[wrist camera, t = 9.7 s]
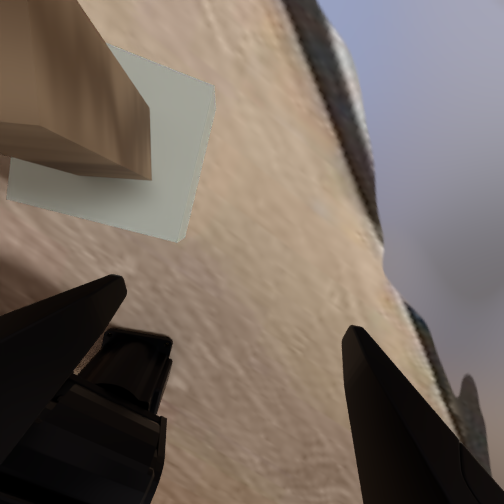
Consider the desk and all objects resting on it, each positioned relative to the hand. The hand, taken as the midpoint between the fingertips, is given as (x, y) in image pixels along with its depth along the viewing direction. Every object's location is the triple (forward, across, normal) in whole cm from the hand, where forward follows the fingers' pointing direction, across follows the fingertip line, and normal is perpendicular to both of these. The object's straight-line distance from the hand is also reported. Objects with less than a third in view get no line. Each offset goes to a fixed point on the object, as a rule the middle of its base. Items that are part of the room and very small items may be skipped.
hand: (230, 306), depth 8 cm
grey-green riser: (+13, +13, -2) cm, 18 cm away
